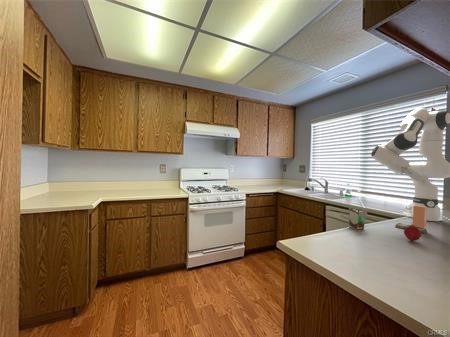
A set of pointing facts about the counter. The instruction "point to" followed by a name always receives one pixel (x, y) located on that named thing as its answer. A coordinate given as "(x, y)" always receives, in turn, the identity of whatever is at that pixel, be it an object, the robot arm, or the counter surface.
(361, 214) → the food container
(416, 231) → the onion
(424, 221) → the orange rectangular block
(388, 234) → the counter surface
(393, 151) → the robot arm
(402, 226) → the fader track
